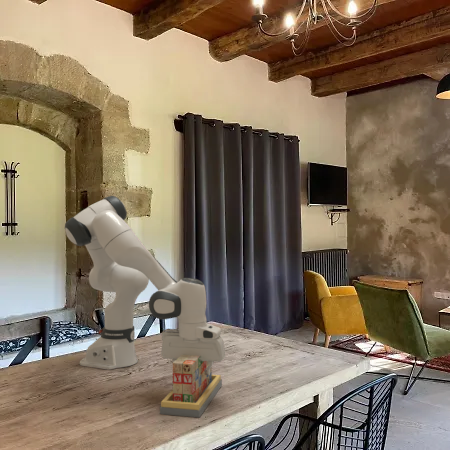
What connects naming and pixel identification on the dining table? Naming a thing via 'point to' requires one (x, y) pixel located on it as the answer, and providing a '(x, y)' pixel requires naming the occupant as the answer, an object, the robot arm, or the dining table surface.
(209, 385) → the yellow and grey tray
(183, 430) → the dining table surface
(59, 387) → the dining table surface
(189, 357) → the stack of blocks
